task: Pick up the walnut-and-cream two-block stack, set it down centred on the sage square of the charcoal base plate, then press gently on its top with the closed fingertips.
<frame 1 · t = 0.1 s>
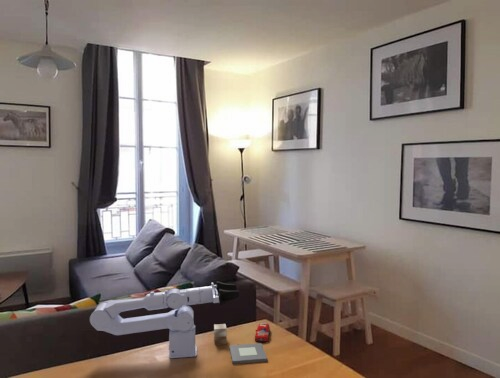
hand: (237, 290, 142), 22 cm above the table, tool horizontal, fingers open, 7 cm apart
race car: (262, 336, 154), on the table
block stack: (220, 341, 149), on the table
base plate: (247, 354, 138), on the table
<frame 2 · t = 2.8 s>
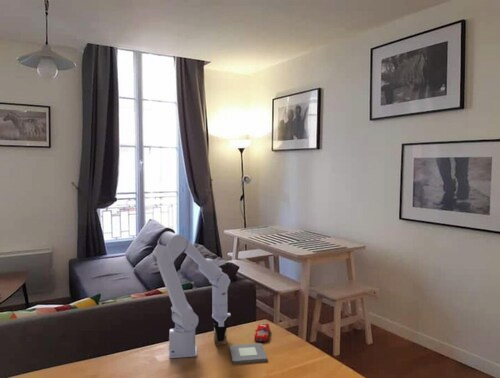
hand: (220, 338, 149), 1 cm above the table, tool pointing down, fingers closed on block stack, 4 cm apart
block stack: (220, 341, 149), on the table, touching gripper
everything else where it was.
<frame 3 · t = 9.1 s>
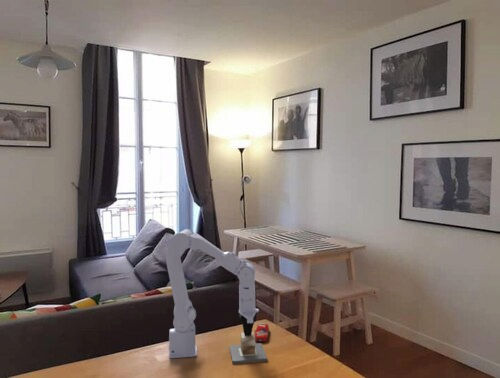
hand: (247, 335, 138), 7 cm above the table, tool pointing down, fingers closed, pressing on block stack
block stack: (247, 351, 138), point 1 cm above the table, touching base plate, gripper
everything else where it was.
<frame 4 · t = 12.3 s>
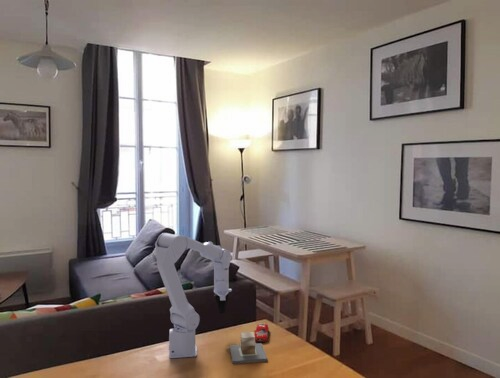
hand: (221, 312, 154), 9 cm above the table, tool pointing down, fingers closed
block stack: (247, 351, 138), point 1 cm above the table, touching base plate
everything else where it was.
at the end: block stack 0.1 cm off-centre on the base plate, point 1.1 cm above the base plate's base; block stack tilted 0°; the gripper is holding nothing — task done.
